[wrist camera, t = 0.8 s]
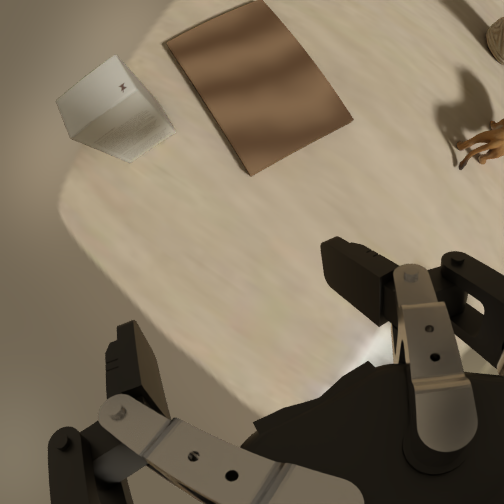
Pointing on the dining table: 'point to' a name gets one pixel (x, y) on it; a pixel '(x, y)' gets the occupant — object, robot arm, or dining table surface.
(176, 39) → the walnut board
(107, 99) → the skincare box
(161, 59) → the dining table surface
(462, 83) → the dining table surface
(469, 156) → the lion figurine
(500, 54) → the carving
